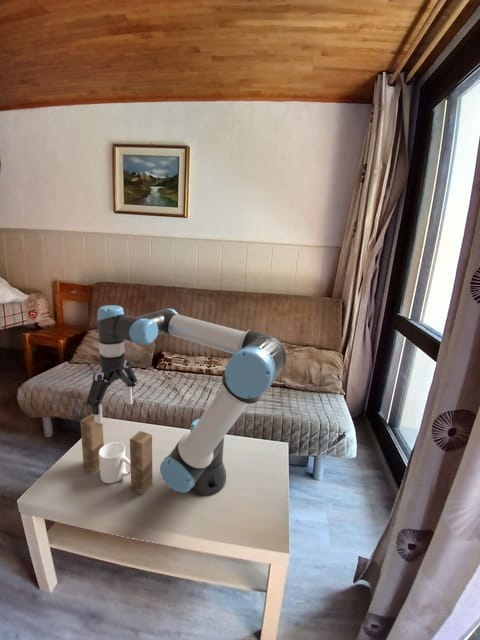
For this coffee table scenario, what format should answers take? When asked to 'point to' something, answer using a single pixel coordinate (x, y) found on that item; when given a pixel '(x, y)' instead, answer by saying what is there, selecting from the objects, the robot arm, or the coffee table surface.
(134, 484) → the post near
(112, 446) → the mug
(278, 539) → the coffee table surface
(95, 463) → the post far
